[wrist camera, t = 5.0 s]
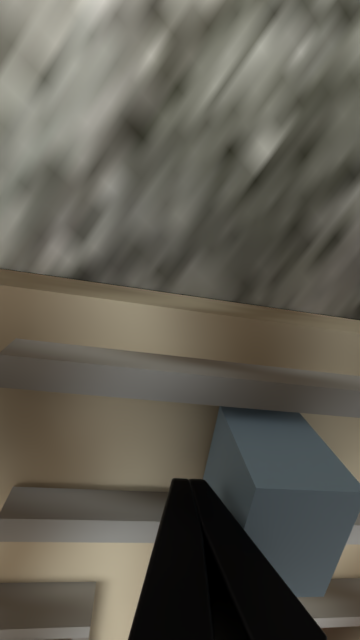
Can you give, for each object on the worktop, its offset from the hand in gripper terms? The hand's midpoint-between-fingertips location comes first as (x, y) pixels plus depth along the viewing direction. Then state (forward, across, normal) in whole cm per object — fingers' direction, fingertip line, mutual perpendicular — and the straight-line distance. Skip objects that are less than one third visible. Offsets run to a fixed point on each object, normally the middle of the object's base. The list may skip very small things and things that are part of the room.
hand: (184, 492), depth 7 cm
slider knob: (+2, -2, 0) cm, 3 cm away
